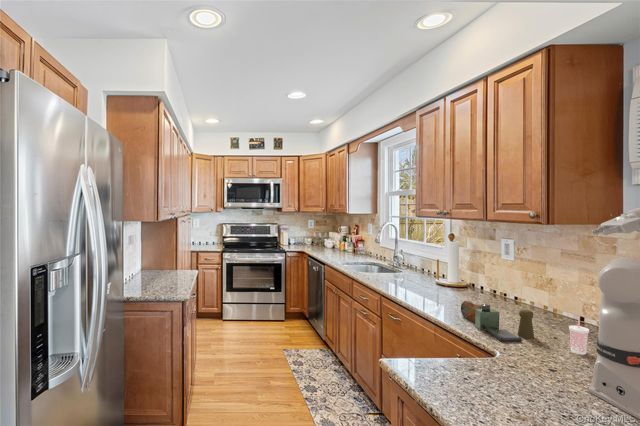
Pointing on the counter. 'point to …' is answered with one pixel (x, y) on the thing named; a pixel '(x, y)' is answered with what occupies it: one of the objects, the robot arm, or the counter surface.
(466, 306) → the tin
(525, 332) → the cork
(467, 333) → the counter surface
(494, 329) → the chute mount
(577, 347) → the beverage cup
